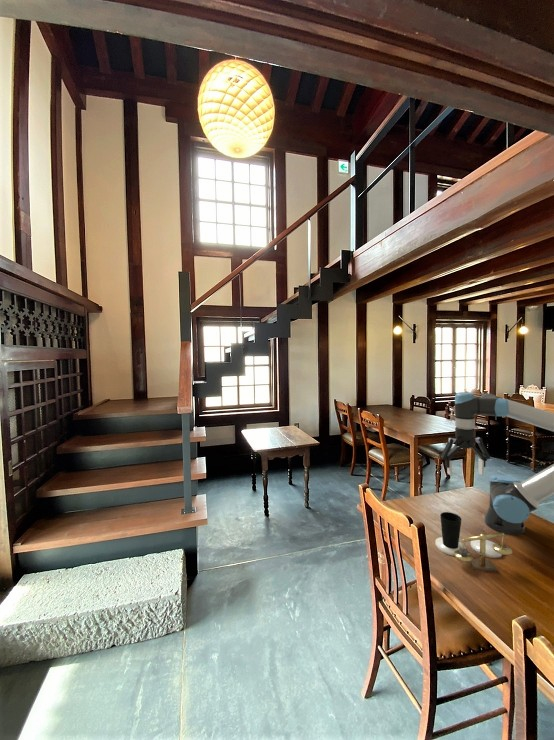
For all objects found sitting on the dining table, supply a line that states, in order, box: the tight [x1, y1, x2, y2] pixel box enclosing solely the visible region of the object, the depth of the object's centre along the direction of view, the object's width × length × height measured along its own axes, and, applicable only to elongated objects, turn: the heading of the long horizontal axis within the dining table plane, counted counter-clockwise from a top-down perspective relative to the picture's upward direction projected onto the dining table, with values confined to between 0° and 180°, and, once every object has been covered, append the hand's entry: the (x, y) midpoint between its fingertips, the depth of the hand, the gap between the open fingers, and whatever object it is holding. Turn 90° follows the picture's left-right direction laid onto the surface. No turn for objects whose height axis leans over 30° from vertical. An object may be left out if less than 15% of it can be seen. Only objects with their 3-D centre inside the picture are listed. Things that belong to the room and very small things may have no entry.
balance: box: [454, 532, 513, 573], centre depth 119 cm, size 20×6×14 cm, turn 83°
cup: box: [439, 511, 463, 549], centre depth 130 cm, size 8×8×12 cm
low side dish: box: [435, 536, 467, 557], centre depth 131 cm, size 11×11×1 cm
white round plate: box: [470, 539, 503, 559], centre depth 129 cm, size 11×11×1 cm
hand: (465, 474), depth 141 cm, fingers open, 13 cm apart
